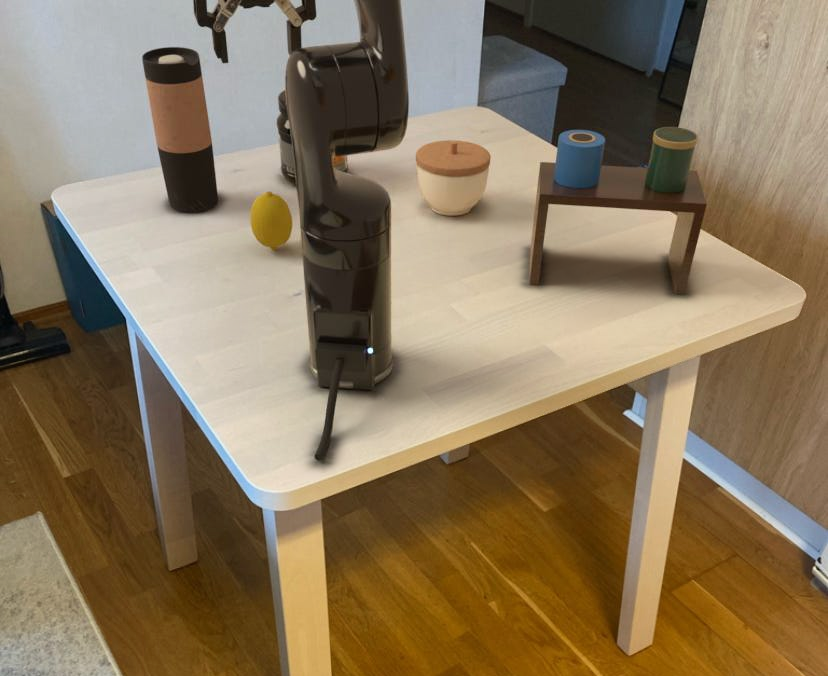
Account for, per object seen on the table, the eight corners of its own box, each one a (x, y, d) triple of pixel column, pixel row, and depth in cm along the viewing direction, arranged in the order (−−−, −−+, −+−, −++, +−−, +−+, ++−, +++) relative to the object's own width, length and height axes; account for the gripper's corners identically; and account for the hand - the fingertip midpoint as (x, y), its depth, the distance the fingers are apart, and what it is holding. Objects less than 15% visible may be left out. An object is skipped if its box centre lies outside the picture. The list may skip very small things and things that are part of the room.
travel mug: (163, 196, 134) (136, 49, 120) (213, 189, 136) (193, 44, 122) (173, 217, 129) (146, 66, 115) (225, 209, 131) (205, 60, 117)
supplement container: (362, 177, 140) (360, 96, 132) (311, 196, 135) (306, 113, 126) (318, 158, 145) (314, 78, 137) (267, 175, 140) (259, 94, 132)
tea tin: (688, 194, 109) (700, 144, 104) (645, 192, 109) (655, 141, 105) (684, 177, 112) (695, 127, 108) (642, 175, 113) (652, 125, 108)
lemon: (287, 261, 120) (282, 202, 114) (248, 256, 121) (241, 198, 115) (299, 242, 124) (295, 185, 118) (261, 238, 125) (255, 181, 119)
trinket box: (490, 195, 136) (495, 131, 129) (482, 226, 129) (486, 160, 122) (421, 189, 137) (422, 125, 131) (408, 219, 130) (409, 153, 123)
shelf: (684, 294, 115) (707, 203, 107) (529, 284, 116) (539, 193, 108) (676, 258, 122) (697, 170, 114) (530, 249, 124) (540, 161, 115)
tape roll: (599, 190, 109) (606, 147, 106) (553, 187, 110) (559, 144, 106) (597, 171, 113) (604, 130, 110) (553, 169, 114) (558, 127, 110)
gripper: (187, -82, 94) (206, 76, 107) (319, -87, 97) (322, 67, 110) (177, -106, 98) (196, 49, 111) (303, -110, 102) (308, 41, 114)
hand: (258, 58), depth 110 cm, fingers open, 8 cm apart
